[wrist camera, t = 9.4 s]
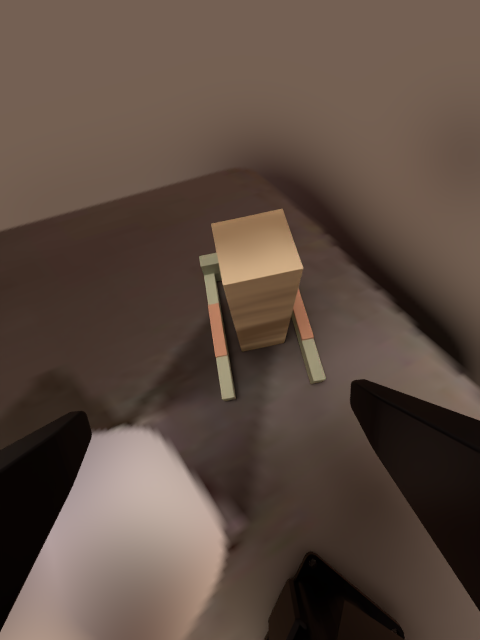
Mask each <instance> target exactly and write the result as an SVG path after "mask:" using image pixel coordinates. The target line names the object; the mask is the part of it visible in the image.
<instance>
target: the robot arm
mask: <svg viewBox="0 0 480 640" xmlns="http://www.w3.org/2000/svg"><path fill="white" fill-rule="evenodd" d="M350 404H351V408H352V410H353V412H354V414H355V416H356V418H357V419H358V421H359V423H360V425H361V427H362V429H363V431H364V433H365V435H366V437H367V439H368V440H369V442H370V444H371V446H372V448H373V449H374V451H375V453H376V454H377V456H378V457H379V459H380V460H381V462H382V463H383V465H384V466H385V468H386V469H387V471H388V472H389V474H390V475H391V477H392V479H393V480H394V482H395V483H396V485H397V486H398V488H399V489H400V491H401V492H402V494H403V495H404V497H405V498H406V500H407V501H408V503H409V504H410V506H411V507H412V509H413V510H414V512H415V513H416V515H417V517H418V518H419V520H420V521H421V523H422V524H423V526H424V527H425V529H426V530H427V532H428V533H429V535H430V536H431V538H432V539H433V541H434V542H435V544H436V545H437V547H438V548H439V550H440V551H441V553H442V555H443V556H444V558H445V559H446V561H447V562H448V564H449V565H450V567H451V568H452V570H453V571H454V573H455V574H456V576H457V577H458V579H459V580H460V582H461V583H462V585H463V586H464V588H465V589H466V591H467V593H468V594H469V596H470V597H471V599H472V600H473V602H474V603H475V605H476V606H477V608H478V609H479V611H480V421H479V420H476V419H474V418H471V417H468V416H465V415H463V414H460V413H457V412H454V411H451V410H449V409H446V408H443V407H440V406H437V405H435V404H432V403H429V402H426V401H424V400H421V399H418V398H415V397H412V396H410V395H407V394H404V393H401V392H399V391H396V390H393V389H390V388H387V387H385V386H382V385H379V384H376V383H373V382H371V381H368V380H365V379H361V380H354V381H352V383H351V394H350ZM91 436H92V432H91V428H90V425H89V421H88V418H87V415H86V413H85V412H84V411H75V412H70V413H68V414H66V415H64V416H62V417H60V418H58V419H57V420H55V421H53V422H51V423H49V424H47V425H46V426H44V427H42V428H40V429H38V430H36V431H35V432H33V433H31V434H29V435H27V436H25V437H24V438H22V439H20V440H18V441H16V442H14V443H13V444H11V445H9V446H7V447H5V448H3V449H2V450H0V631H1V629H2V627H3V625H4V623H5V621H6V619H7V617H8V615H9V613H10V611H11V609H12V607H13V605H14V603H15V601H16V599H17V597H18V595H19V593H20V591H21V589H22V587H23V585H24V583H25V581H26V579H27V577H28V575H29V573H30V571H31V569H32V567H33V565H34V563H35V561H36V559H37V557H38V555H39V553H40V551H41V549H42V547H43V545H44V543H45V541H46V539H47V537H48V535H49V533H50V531H51V529H52V527H53V525H54V523H55V521H56V519H57V517H58V515H59V512H60V511H61V509H62V507H63V505H64V502H65V501H66V499H67V497H68V495H69V492H70V490H71V488H72V486H73V484H74V481H75V479H76V477H77V474H78V471H79V469H80V466H81V463H82V461H83V459H84V456H85V453H86V451H87V448H88V445H89V443H90V440H91ZM311 559H314V560H315V561H316V563H315V565H314V566H311V565H310V564H309V561H310V560H311ZM268 623H269V632H268V634H267V636H266V638H265V640H404V638H405V637H404V632H403V630H402V628H401V627H400V625H399V624H398V623H397V622H396V621H395V620H394V619H393V618H392V617H391V616H389V615H388V614H387V613H386V612H385V611H383V610H382V609H381V608H380V607H379V606H377V605H376V604H375V603H374V602H373V601H372V600H370V599H369V598H368V597H367V596H366V595H364V594H363V593H362V592H361V591H360V590H358V589H357V588H356V587H355V586H354V585H353V584H351V583H350V582H349V581H348V580H347V579H345V578H344V577H343V576H342V575H341V574H339V573H338V572H337V571H336V570H335V569H333V568H332V567H331V566H330V565H329V564H328V563H326V562H325V561H324V560H323V559H322V558H320V557H319V556H318V555H317V554H316V553H314V552H308V553H307V554H306V555H305V557H304V559H303V561H302V563H301V565H300V567H299V569H298V571H297V574H296V576H295V578H294V579H293V578H291V579H288V580H287V582H286V585H285V587H284V589H283V591H282V593H281V595H280V597H279V599H278V601H277V603H276V605H275V607H274V609H273V611H272V613H271V615H270V617H269V620H268ZM392 629H397V634H395V633H394V632H392Z"/></svg>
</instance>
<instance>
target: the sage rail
mask: <svg viewBox="0 0 480 640" xmlns="http://www.w3.org/2000/svg"><path fill="white" fill-rule="evenodd" d="M199 258H200V265H201V269H202V271H203V274H204V278H205V285H206V292H207V299H208V308H209V315H210V322H211V329H212V336H213V343H214V350H215V356H216V360H217V367H218V374H219V381H220V387H221V394H222V400H224V401H228V400H233V399H236V395H235V389H234V383H233V377H232V371H231V365H230V359H229V353H228V347H227V341H226V335H225V329H224V323H223V317H222V311H221V305H220V299H219V293H218V287H217V281H221V280H222V278H221V272H220V267H219V262H218V257H217V253H213V254H208V255H204V256H199ZM291 318H292V321H293V325H294V328H295V332H296V335H297V339H298V342H299V346H300V349H301V353H302V356H303V360H304V363H305V367H306V370H307V374H308V377H309V381H310V384H314V383H319V382H323V381H324V380H325V379H326V377H325V374H324V371H323V368H322V365H321V361H320V358H319V355H318V352H317V349H316V345H315V342H314V339H313V338H314V336H313V333H312V330H311V326H310V323H309V320H308V317H307V314H306V310H305V307H304V304H303V301H302V298H301V295H300V291H299V288H298V291H297V295H296V299H295V303H294V307H293V311H292V315H291Z"/></svg>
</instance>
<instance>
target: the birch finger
mask: <svg viewBox="0 0 480 640" xmlns="http://www.w3.org/2000/svg"><path fill="white" fill-rule="evenodd" d="M211 226H212V231H213V236H214V241H215V246H216V252H217V257H218V262H219V267H220V272H221V278H222V283H223V287H224V291H225V294H226V298H227V301H228V305H229V308H230V312H231V315H232V319H233V322H234V326H235V329H236V333H237V336H238V340H239V344H240V347H241V351H242V352H244V351H248V350H253V349H258V348H263V347H267V346H272V345H277V344H282V343H284V342H285V338H286V334H287V330H288V327H289V323H290V319H291V315H292V311H293V307H294V303H295V299H296V295H297V291H298V287H299V283H300V279H301V275H302V271H303V266H302V264H301V261H300V258H299V255H298V252H297V249H296V246H295V244H294V241H293V238H292V235H291V232H290V229H289V226H288V224H287V221H286V218H285V215H284V212H283V209H279V210H275V211H270V212H265V213H261V214H256V215H251V216H246V217H242V218H237V219H232V220H227V221H223V222H218V223H213V224H211Z"/></svg>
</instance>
